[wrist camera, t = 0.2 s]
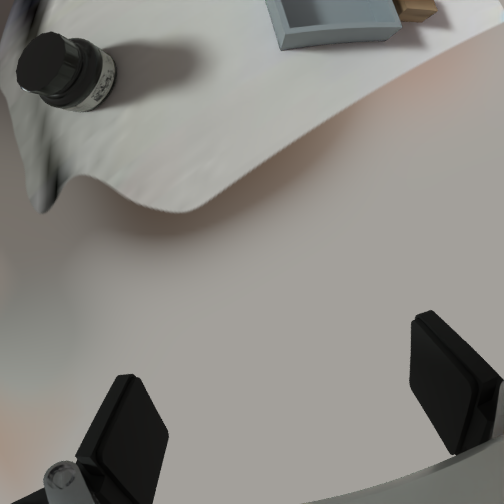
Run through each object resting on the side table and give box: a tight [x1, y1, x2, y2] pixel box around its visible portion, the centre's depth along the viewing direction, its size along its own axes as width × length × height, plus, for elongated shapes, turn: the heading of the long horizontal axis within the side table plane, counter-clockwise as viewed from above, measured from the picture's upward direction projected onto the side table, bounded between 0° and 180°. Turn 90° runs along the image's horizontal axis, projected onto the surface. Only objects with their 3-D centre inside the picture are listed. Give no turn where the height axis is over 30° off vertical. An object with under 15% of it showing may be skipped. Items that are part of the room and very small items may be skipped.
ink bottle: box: [16, 32, 117, 112], centre depth 29 cm, size 10×9×12 cm
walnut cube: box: [392, 0, 438, 22], centre depth 29 cm, size 5×5×5 cm
